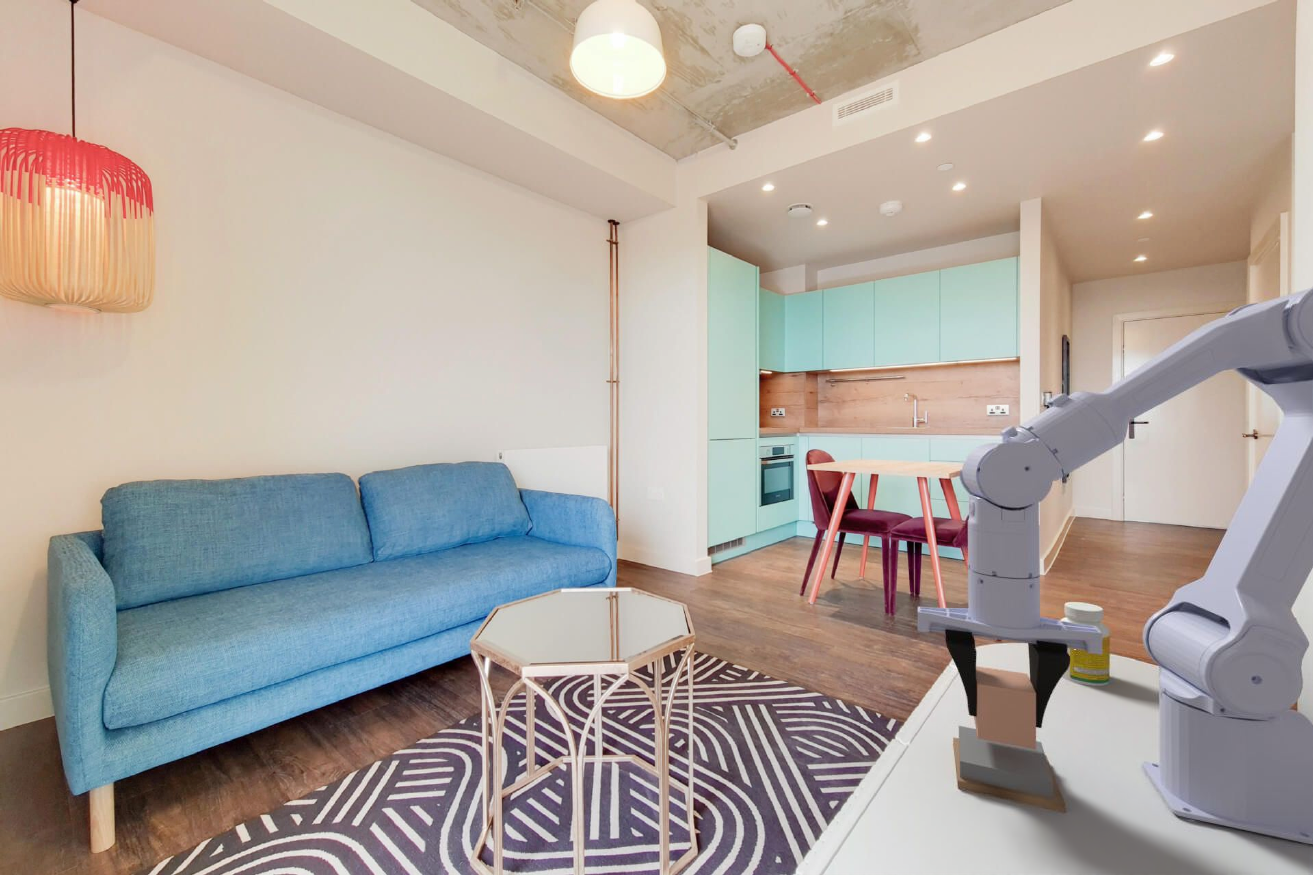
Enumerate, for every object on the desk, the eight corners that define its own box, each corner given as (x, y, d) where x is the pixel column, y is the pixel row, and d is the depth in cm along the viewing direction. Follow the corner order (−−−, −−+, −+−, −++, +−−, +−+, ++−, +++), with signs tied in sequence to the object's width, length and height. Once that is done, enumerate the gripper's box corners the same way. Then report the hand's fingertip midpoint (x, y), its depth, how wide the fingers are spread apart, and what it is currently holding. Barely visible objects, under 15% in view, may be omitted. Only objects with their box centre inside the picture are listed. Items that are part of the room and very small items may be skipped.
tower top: (1041, 757, 55) (1041, 741, 55) (1053, 799, 48) (1053, 781, 48) (958, 740, 58) (958, 725, 58) (960, 777, 52) (960, 760, 52)
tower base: (1046, 770, 55) (1046, 755, 55) (1065, 821, 48) (1065, 804, 48) (953, 751, 58) (953, 737, 58) (957, 796, 51) (957, 780, 51)
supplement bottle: (1047, 673, 75) (1047, 601, 75) (1080, 669, 77) (1080, 598, 77) (1086, 691, 70) (1086, 613, 70) (1121, 687, 71) (1120, 610, 71)
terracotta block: (1027, 725, 54) (1027, 673, 54) (1036, 749, 50) (1035, 693, 50) (973, 716, 56) (973, 665, 56) (977, 738, 52) (977, 683, 52)
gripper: (1086, 569, 54) (1087, 713, 54) (917, 556, 60) (918, 685, 60) (1109, 587, 47) (1110, 751, 47) (917, 571, 53) (917, 715, 53)
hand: (1003, 716), depth 53 cm, fingers closed on terracotta block, 4 cm apart
